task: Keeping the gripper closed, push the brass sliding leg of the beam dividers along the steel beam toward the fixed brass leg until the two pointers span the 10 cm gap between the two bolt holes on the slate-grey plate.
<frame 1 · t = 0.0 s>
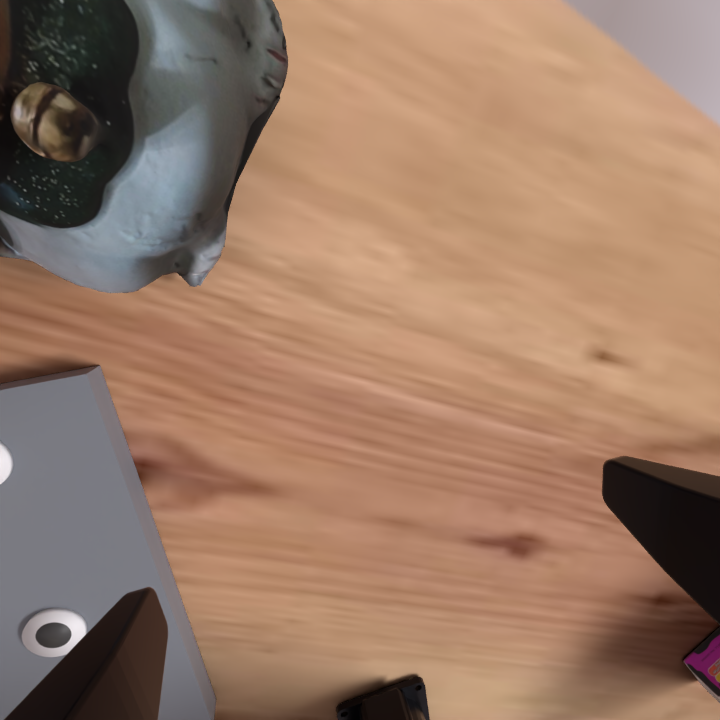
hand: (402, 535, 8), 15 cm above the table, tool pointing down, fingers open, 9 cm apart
hole plate: (20, 595, 21), on the table
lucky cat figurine: (90, 137, 17), on the table
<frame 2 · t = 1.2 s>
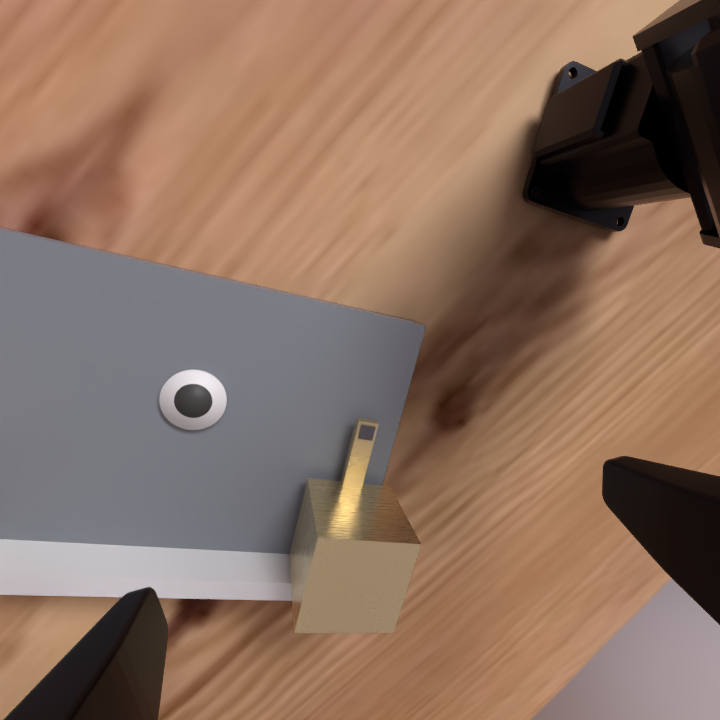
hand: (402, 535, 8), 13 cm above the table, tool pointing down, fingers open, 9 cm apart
hole plate: (161, 421, 19), on the table
sliding leg: (356, 518, 18), point 4 cm above the table, slide at -8.0 cm
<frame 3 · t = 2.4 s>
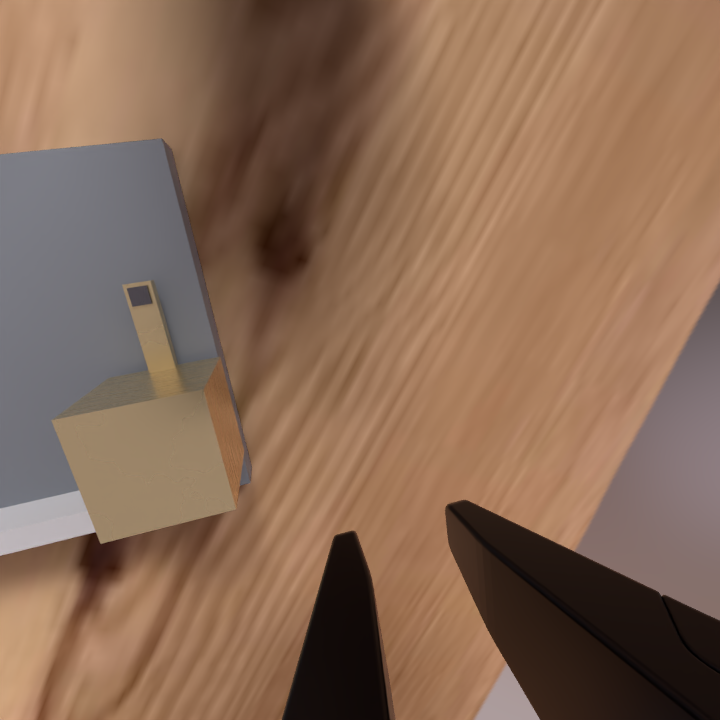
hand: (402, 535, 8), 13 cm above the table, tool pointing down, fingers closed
sliding leg: (154, 395, 14), point 4 cm above the table, slide at -8.0 cm
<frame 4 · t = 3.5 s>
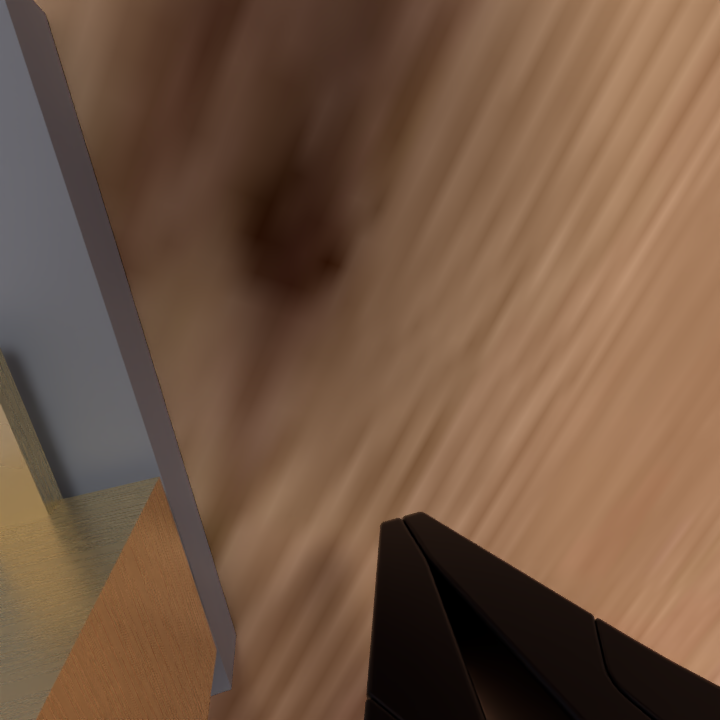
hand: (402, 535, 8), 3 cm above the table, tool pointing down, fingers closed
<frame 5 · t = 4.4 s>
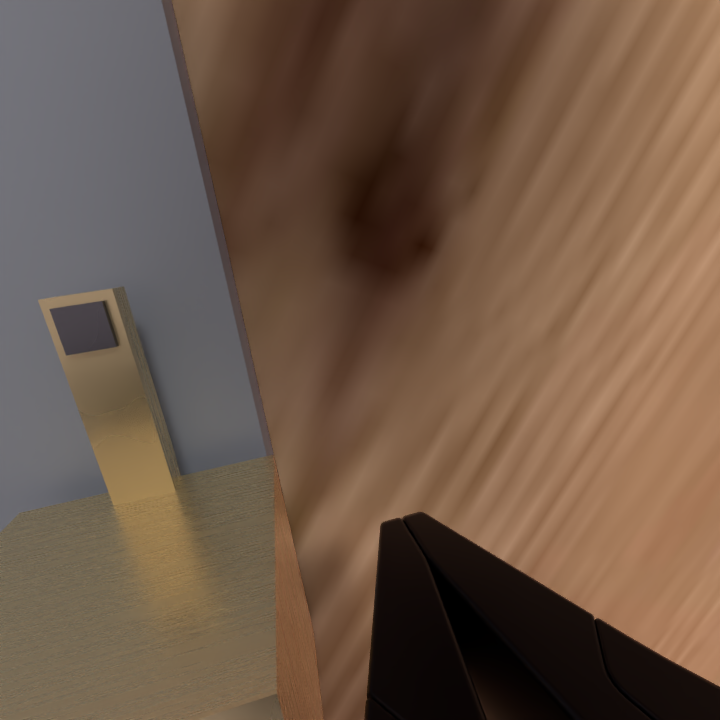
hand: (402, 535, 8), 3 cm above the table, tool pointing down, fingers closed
sliding leg: (117, 603, 5), point 4 cm above the table, slide at -8.0 cm, touching gripper
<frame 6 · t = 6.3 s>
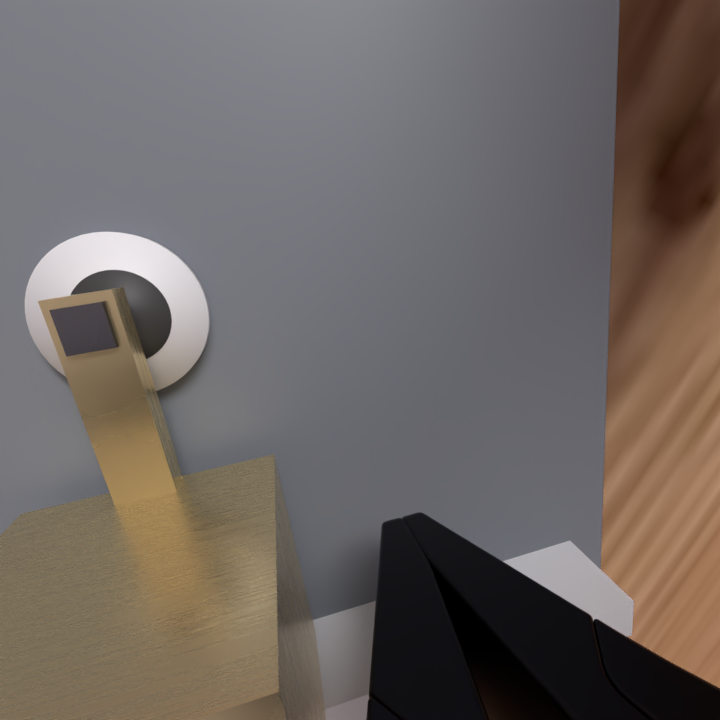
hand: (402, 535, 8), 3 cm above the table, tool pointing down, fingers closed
hole plate: (106, 406, 9), on the table
sliding leg: (119, 603, 5), point 4 cm above the table, slide at 0.2 cm, touching gripper
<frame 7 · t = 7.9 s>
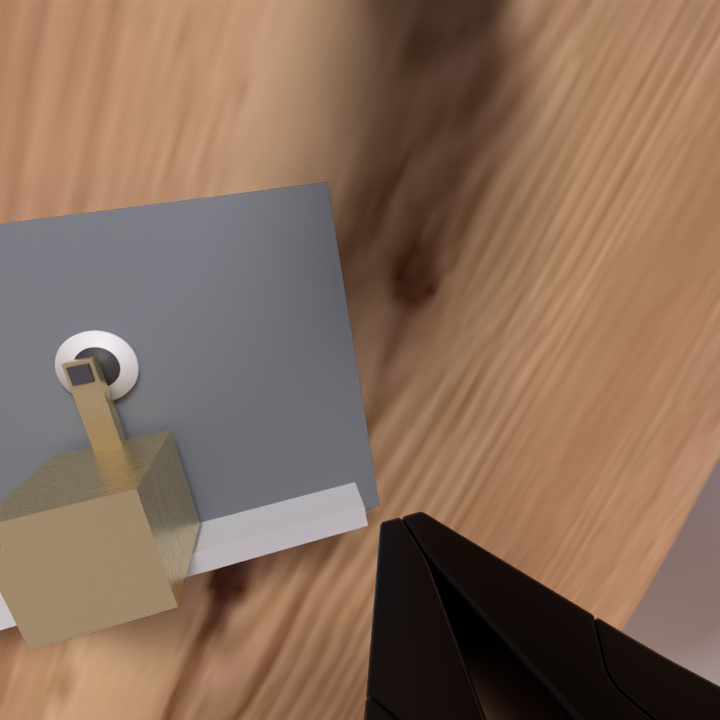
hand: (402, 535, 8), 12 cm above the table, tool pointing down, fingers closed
hole plate: (92, 408, 17), on the table
sliding leg: (93, 483, 14), point 4 cm above the table, slide at 0.2 cm
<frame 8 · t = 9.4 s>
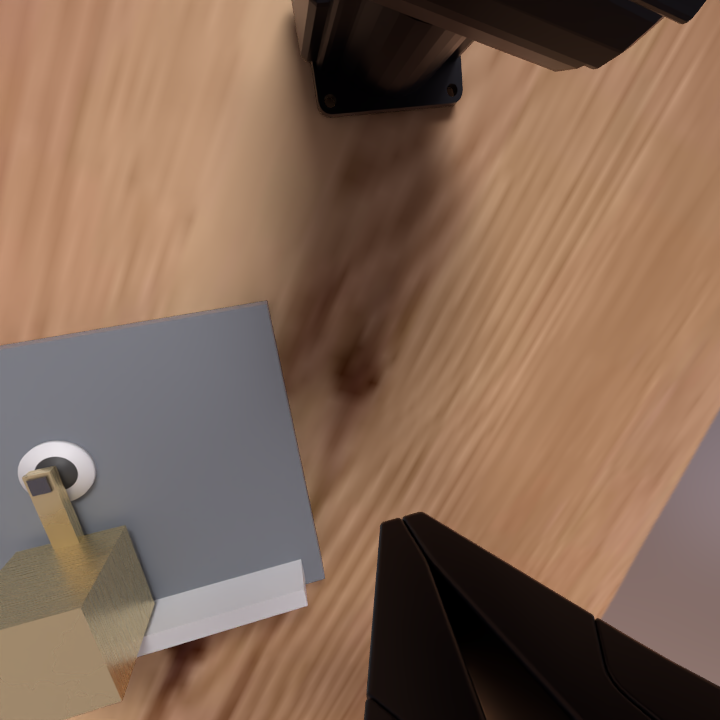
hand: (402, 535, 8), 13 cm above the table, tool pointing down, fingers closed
hole plate: (56, 498, 19), on the table
sliding leg: (49, 587, 15), point 4 cm above the table, slide at 0.2 cm
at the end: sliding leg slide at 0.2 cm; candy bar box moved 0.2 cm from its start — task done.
